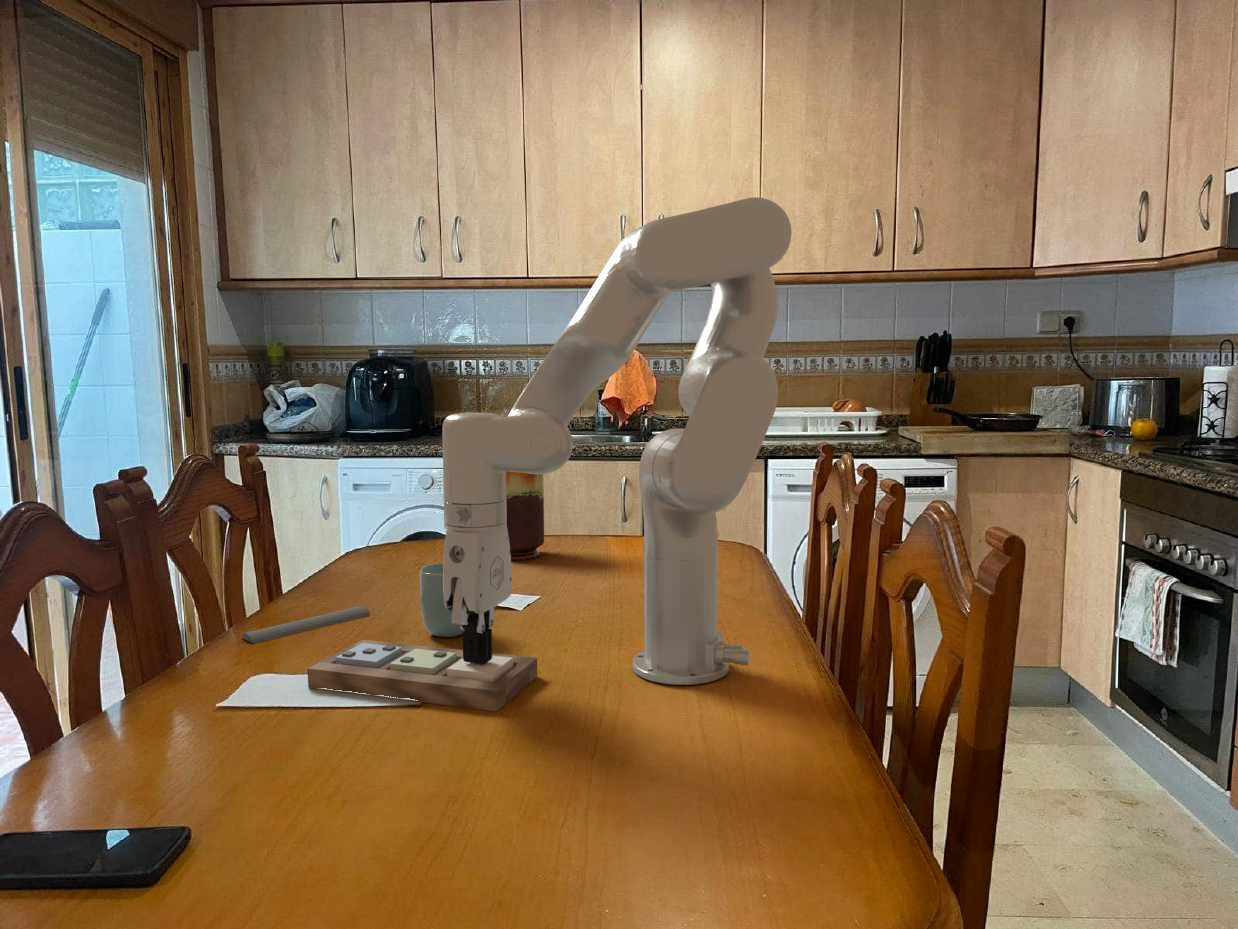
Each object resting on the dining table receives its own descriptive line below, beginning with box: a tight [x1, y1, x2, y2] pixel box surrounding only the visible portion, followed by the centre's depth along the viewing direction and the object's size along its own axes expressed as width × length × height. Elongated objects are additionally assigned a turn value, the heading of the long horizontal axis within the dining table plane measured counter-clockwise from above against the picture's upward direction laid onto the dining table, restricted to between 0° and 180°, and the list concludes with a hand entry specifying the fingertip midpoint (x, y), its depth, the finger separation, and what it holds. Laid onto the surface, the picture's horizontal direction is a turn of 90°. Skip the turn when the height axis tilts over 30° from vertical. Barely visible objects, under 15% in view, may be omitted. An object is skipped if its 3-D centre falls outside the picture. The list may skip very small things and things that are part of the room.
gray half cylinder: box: [241, 605, 370, 644], centre depth 138 cm, size 4×20×2 cm, turn 137°
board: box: [306, 639, 538, 712], centre depth 114 cm, size 26×12×2 cm, turn 72°
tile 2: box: [390, 649, 456, 675], centre depth 114 cm, size 6×6×3 cm
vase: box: [506, 471, 545, 562], centre depth 185 cm, size 11×11×26 cm
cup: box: [419, 562, 463, 638], centre depth 134 cm, size 8×8×10 cm
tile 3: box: [335, 643, 402, 669], centre depth 116 cm, size 6×6×3 cm
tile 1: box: [447, 656, 513, 682], centre depth 111 cm, size 6×6×3 cm
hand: (477, 660), depth 111 cm, fingers closed
